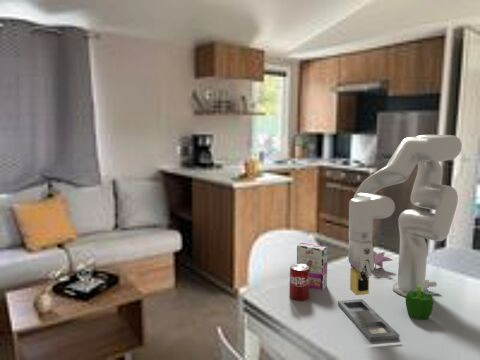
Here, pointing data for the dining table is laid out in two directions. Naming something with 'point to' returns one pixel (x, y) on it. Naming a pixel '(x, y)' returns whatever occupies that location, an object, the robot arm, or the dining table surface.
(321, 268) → the candy bar box
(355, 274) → the yellow block
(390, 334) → the gray recessed board
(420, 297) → the bell pepper
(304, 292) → the soda can
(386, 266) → the dining table surface
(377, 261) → the lily
